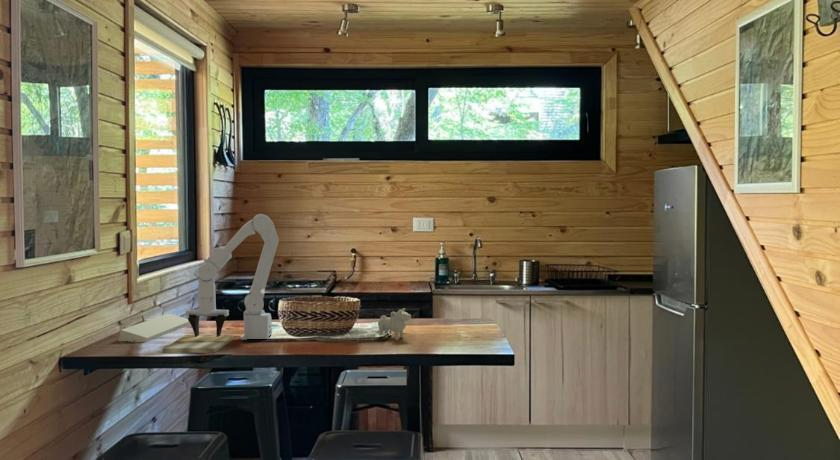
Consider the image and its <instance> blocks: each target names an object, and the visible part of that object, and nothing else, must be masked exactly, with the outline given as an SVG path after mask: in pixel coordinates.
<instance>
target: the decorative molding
mask: <svg viewBox="0 0 840 460" xmlns="http://www.w3.org/2000/svg"><path fill="white" fill-rule="evenodd" d="M189 325H190V326H191V324H190V322H189V321H188V318H185V317H182V316H179V315H177V314H173V313H166V314H163V315H159V316H157V317H154V318H151V319H148V320H145V321H142V322H140V323H137V324H134V325H131V326H127V327H124V328H123V329H120V331H119V336H118V341H128V342H131V343H147V342H150V341H151V340H155V339H157V338H159V337H162V336H164V335H167V334H169V333H171V332H172V331H173V332H175V331H177V329H178V330H181V329H182V328H185V327H187V326H189ZM154 338H155V339H154ZM149 340H150V341H149Z"/></svg>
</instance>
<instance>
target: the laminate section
mask: <svg viewBox="0 0 840 460" xmlns="http://www.w3.org/2000/svg"><path fill="white" fill-rule="evenodd" d="M225 346H226V345H225V342H175V341H172V343H169V344H167V345H166V346H165V347H164V346H163V348H162V353H163V354H164V353H165V354H169V353H170V354H175V353H176V354H179V353H180V354H186V353H187V354H188V353H190V354H195V353H199V354H202V353H203V354H205V353H206V354H207V353H208V354H211V353H213V354H215V353H217V352H218V351H219V350H221V349H223V348H224V347H225Z"/></svg>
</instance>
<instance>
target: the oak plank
mask: <svg viewBox="0 0 840 460" xmlns="http://www.w3.org/2000/svg"><path fill="white" fill-rule="evenodd" d="M234 337H235V335H234V334H221V336H219V337H217V334H199V336H197V337H195V335H194V334H185V335H184V336H181V337H180V338H178V339H176V340H175V341H174V342H225V346H226V345H228V344H229V343H231V342H232V341H234V339H235V338H234Z"/></svg>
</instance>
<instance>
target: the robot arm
mask: <svg viewBox="0 0 840 460" xmlns="http://www.w3.org/2000/svg"><path fill="white" fill-rule="evenodd" d="M256 232H257V233H258V234H259V235H260V237H261V239H262V240H263V242H264V243H263V246H262V250H261V254H260V257H259V260H258V262H257V263H258V264H257V267H256V271H255V273H254V278H253V281H252V283H251V287H250V289H249V292H248V293H247V295H245V297H244V300H243V303H244V306H245V310H244V311H243V336H242V337H240V340H243V341H244V340H246V341H247V339H267V338H268V337H269V336H270V335H272V336H273V333H272V330H273V327H272V325H273V322H272V314H271V313H270V312H265V310H264V306H265V305H264V304H265V302H264V297H265V291H266V287H267V283H268V280H269V276H270V273H271V268H272V266H273V263H274V260H275V255H276V252H277V249H278V245H279V242H280V239H279V236H278V233H277V230H276V227H275V223H274V222H273V220H272V219H271V218H270V217H269V216H268V215H266V214H264V213H258V214H256V215H254V217H253V218H252V219H250V220H248V221H247V222H246V223H245V224H243V225H242V226H241V227H240V229H238V230H237V232H236V233H235V234H234V235H233V236H232V238H230V240H229V241H228V242H227V243H226V244H225V245H223V246H222V245H221V246H218V247H215V248H214V249H213V250H212V253H211V255H210V256H209V257H207V259H206V258H205V259H204V260H203V262H204V263H202V264H201V265H199V267H198V268H197V276H198V280H197V281H198V286H197V288H198V290H197V292H198V293H197V294H198V298H197V299H198V309H187V310H185V316H186V317H187V319H188V321H189V322H190V326H191V328H192V331H193V335H195V337H197V336H199V335H200V327H199V325H200V317H215V318H214V319H215V325H216V335H217V337H219V336H221V335H222V330H223V326H224V323H225V321H226V319H227V317H228V316H229V315H230V313H229V312H230V310H229V309H217V304H216V302H217V301H216V300H217V299H216V296H217V295H216V284H215V277H216V273H217V272H218V271H220V270H221V269H222V268H223V267H224V266H225V265H226V264H227V263H228V262H229V261H230V260H231V259H232V258H233V257H232V252H233V251H234V250H235V249H236V248H237V247H238V246H239V245H240V244H241V243H242V242H243V241H244V240H245V239H246V238H247V237H249V236H252V235H256ZM269 338H270V337H269ZM269 338H268V339H269ZM268 339H267V340H268Z"/></svg>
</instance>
